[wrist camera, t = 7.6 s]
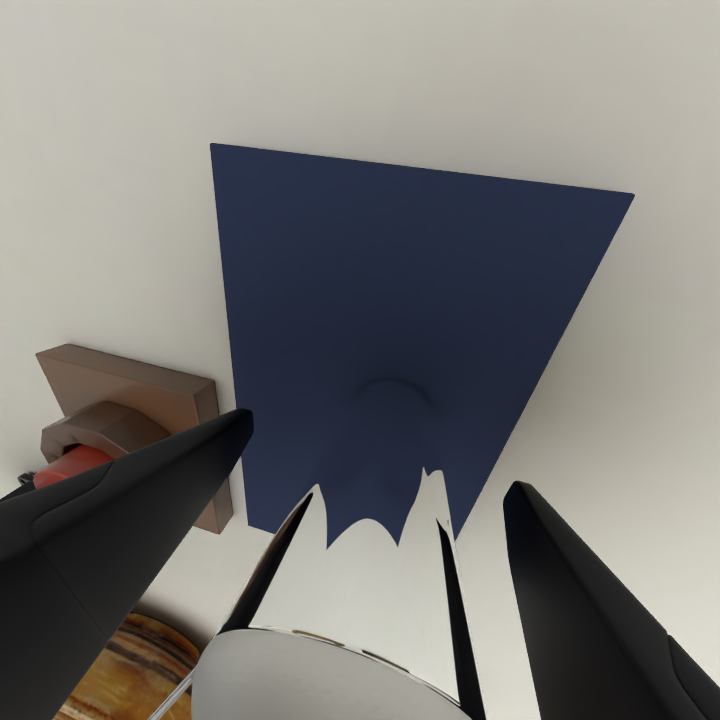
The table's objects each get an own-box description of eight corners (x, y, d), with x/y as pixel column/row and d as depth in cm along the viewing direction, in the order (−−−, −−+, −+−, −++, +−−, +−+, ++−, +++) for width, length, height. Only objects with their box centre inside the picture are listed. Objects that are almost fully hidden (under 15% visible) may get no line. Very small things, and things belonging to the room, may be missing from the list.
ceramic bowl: (279, 657, 29) (231, 796, 22) (253, 704, 40) (216, 805, 33) (39, 544, 30) (-79, 640, 23) (80, 621, 42) (10, 701, 35)
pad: (432, 574, 16) (432, 586, 16) (252, 517, 18) (247, 525, 17) (622, 195, 7) (638, 193, 7) (221, 147, 9) (208, 141, 8)
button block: (233, 515, 18) (198, 566, 16) (122, 479, 20) (71, 520, 17) (214, 380, 13) (158, 420, 11) (66, 343, 15) (-20, 370, 12)
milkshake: (336, 337, 10) (-218, 1002, 1) (471, 388, 10) (828, 1640, 1) (312, 423, 12) (32, 898, 4) (422, 467, 12) (412, 1107, 3)
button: (158, 513, 15) (127, 546, 13) (92, 491, 15) (55, 520, 14) (139, 457, 13) (99, 487, 11) (63, 433, 13) (16, 460, 12)
